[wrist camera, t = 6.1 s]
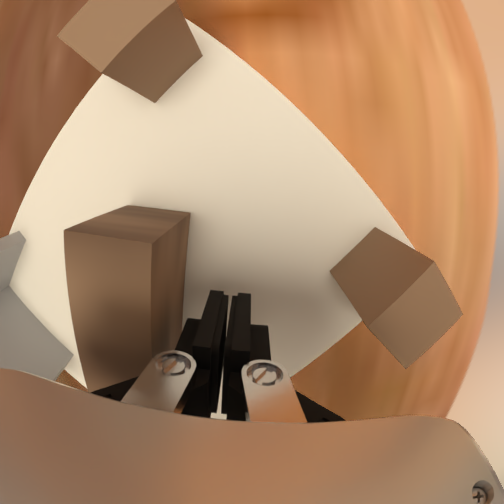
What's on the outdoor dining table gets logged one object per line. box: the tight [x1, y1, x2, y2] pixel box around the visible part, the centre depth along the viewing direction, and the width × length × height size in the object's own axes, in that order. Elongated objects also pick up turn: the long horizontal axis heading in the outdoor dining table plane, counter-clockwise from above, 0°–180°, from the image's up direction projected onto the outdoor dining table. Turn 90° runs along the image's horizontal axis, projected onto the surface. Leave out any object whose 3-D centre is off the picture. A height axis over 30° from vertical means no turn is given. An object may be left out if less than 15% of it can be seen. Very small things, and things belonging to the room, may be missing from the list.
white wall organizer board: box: [0, 0, 463, 420], centre depth 12 cm, size 18×21×6 cm
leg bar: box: [63, 205, 191, 393], centre depth 11 cm, size 14×3×5 cm, turn 171°
